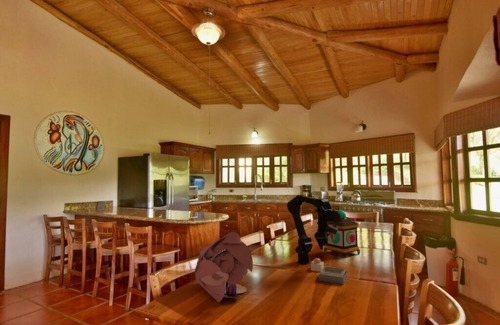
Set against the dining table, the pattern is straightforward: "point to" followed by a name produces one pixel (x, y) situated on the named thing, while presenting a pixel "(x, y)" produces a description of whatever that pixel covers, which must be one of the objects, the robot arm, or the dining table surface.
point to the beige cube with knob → (317, 265)
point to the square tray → (333, 275)
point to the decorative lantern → (343, 236)
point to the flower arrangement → (224, 267)
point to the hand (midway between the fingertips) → (323, 247)
